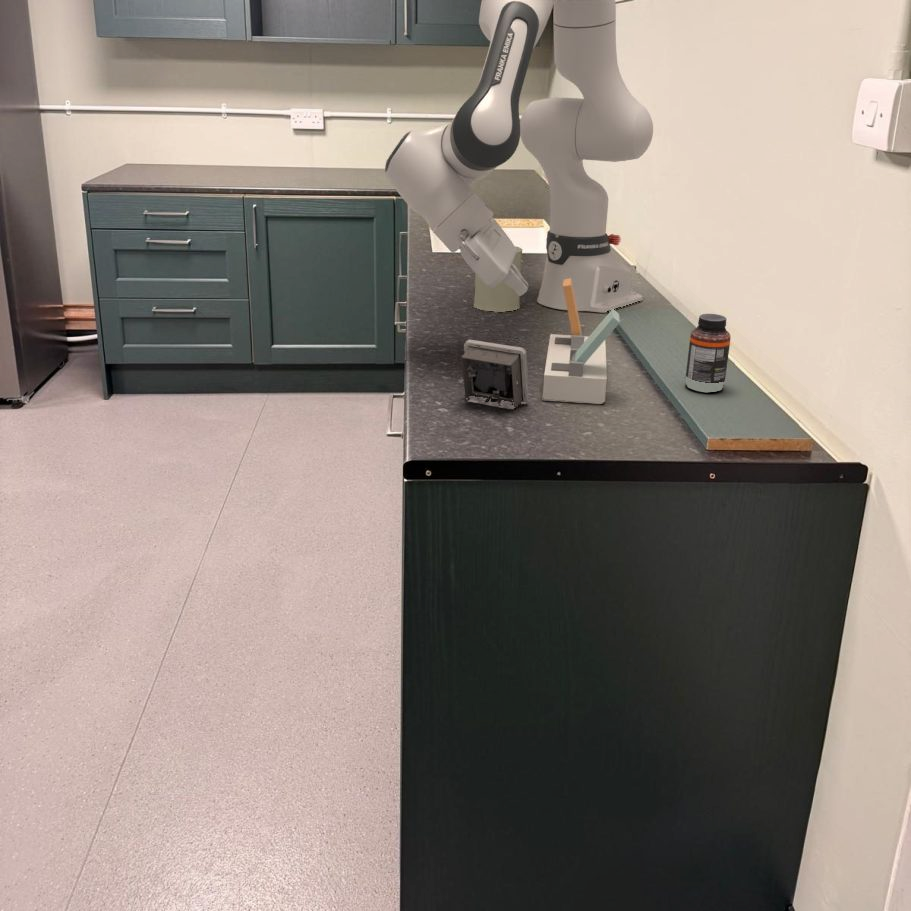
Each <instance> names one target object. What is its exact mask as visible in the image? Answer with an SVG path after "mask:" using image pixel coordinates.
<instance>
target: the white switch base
mask: <svg viewBox="0 0 911 911" xmlns="http://www.w3.org/2000/svg"><path fill="white" fill-rule="evenodd" d="M580 326H581V330H582V336H579V335H572V334H571V335H568V334H567V335H566V334H551V333H550V336H549V341H548V342H549V343H548V347H547V353H546V361H545V367H544V368H545V369H544V373H543V374H544V375H543V384H542V385H543V386H542V399H543V398H544V399H554V400H565V401H583V402H606V391H607V380H608V377H607V376H608V374H607V373H608V372H607V371H608V370H607V352H606V351H607V350H606V347H607V346H606V339H605V340H604V342H603V343H602V344H601V345H600V346H599V347H598V349H597V350H596V351H595V352H594V353H593V354H592V356H591V357H590V358H589V359H588V360H587V361H586V363H585V364H584V365H583V362H575V361H572V355H573V354H574V353H576V351H577V350H578V349H579V348H580V347H581V346H582V344H583V343H584V342H585V341H586V340H587V338H588V337H589V336H586V335H585V327H586V326H585V324H580Z"/></svg>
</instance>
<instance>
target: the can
mask: <svg viewBox="0 0 911 911" xmlns="http://www.w3.org/2000/svg"><path fill="white" fill-rule="evenodd" d="M514 246H515V248H516V250H517V253H516V255H515V258H514V260H513V264H514V265H515V266H516V268H517V269H518V271H519V272H520V274H521V273H522V272H521V271H522V256H523V248H522V247H519V246H516V245H514ZM474 273H475V272H474ZM521 275H522V274H521ZM474 277H475V279H474V280H475V281H474V299H473V300H474V301H473V308H475V309H476V308H477V310H478V309H480V310H479V311H481V310H485V311H484V312H486V311H494V312H493V313H497V312H503V313H506V312H505V311H512V312H514V311H513V310H516V311H518V310H519V309H520V308H521V305H520V297H521V296H519V295H518V294H517V293H516V292H515V291H514V290H513V289H512V288H511V287H509V286H508V285H506V284H505V283H504V282H503V281H501V282H500V283H499V284H498V285H496V286H495V287H494V288H489V287H488V286H487V285H485V284H484V283H483V281H482V280H481V279H480V278H479V277H478V276H477V274H476V273H475V276H474ZM517 309H518V310H517Z"/></svg>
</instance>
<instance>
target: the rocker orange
mask: <svg viewBox="0 0 911 911" xmlns="http://www.w3.org/2000/svg"><path fill="white" fill-rule="evenodd" d="M563 290H564V295H565V300H566V305H567V310H566V311H567V314H568V319H569V324H570V329H571V335H579V336H582V330H581V326H580V325H581V322H580V321H581V320H580V316H579V311H578V310H577V305H576V300H575V295H574V290H573V285H572V280H571V278H569V279H564V282H563Z"/></svg>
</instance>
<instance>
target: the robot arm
mask: <svg viewBox="0 0 911 911" xmlns="http://www.w3.org/2000/svg"><path fill="white" fill-rule="evenodd" d="M616 5H617V4H616V0H481V4H480V10H479V17H478V25H479V27H480V29H481V30H480V31H482V34H484V36H485V37H486V38H485V39H487V40H488V41H489V47H488V51H487V53H486V57H485V62H484V64H483V68H482V71H481V74H480V78H479V81H478V83H477V84H478V85H477V88H476V89H475V90H474V92H473V94H472V95H471V96H470V97H469V98H468V99H466V101H465V102H464V103H463V104H462V105H461V107H460V108H459V110H458V111H457V113H456V115H455V116H454V118H453V119H452V120H451V121H450V122H449V123H445V124H443V125H441V126H438V127H435V128H431V129H426V130H420V131H414V130H410V131H408V132H407V133H405V134H404V135H403V136H402V138H401V139H400V140H399V142H398V143H397V145H396V146H395V147H394V149H393V150H392V151H391V153H390V155H389V156H388V158H387V159H386V161H385V166H384V169H385V175H386V177H387V179H388V181H389V182H390V184H391V186H393V188H394V189H395V190H396V192H397V193H398V194H399V195H400V196H401V198H402V200H403V201H404V202H405V203H406V204H407V205H408V206H409V207H410V208H411V210H412V211H413V212H415V213H417V214H418V215H420V216H421V217H422V218H423V219H424V220H425V221H426V224H427V225H428V227H429V228H430V231H432V233H433V234H434V235H435V236H436V237H437V238H438V239H439V240H440V242H442V243H443V245H444V246H445V248H447V249H448V250H449V251H450V253H452V254H454V253H456V252H457V251H459V250H460V252H459V253H460V255H461V257H462V258H463V260H464V261H465V262H466V264H467V265H468V266H469V267H470V269H471V270H472V271H473V273H476V274H477V276H478V277H479V278H480V279H481V280H482V281H483V283H484V284H485V285H487V286H488V287H489V288H494V287H495V286H496V285H498V284H499V283H500V282H501V281H503V282H504V283H505V284H506V285H508V286H509V287H511V288H512V289H513V290H514V291H515V292H516V293H517V294H518V295H519V296H520V297H522V296H523V295H524V294H525V293H527V292H528V289H529V285H530V284H529V283H528V282H527V281H526V280H525V278H523V275H522V274H520V272H519V271H518V269H517V268H516V266H515V265H514V264H513V260H514V258H515V255H516V253H517V250H516V248H515V246H516V245H515V244H514V242H513V240H511V239H510V237H509V236H508V234H506V232H505V231H504V229H503V228H502V226H500V224H499V223H498V221H497V220H496V219H495V218H494V217H493V216H494V212H493V210H492V209H491V208H490V207H489V206H488V205H487V204H486V203H485V202H484V201H483V200H482V199H481V198H480V197H479V195H477V194H476V192H474V191H475V190H473V189H472V184H474V183H476V182H479V181H480V180H483V179H484V178H486V177H487V176H488V175H489V174H490V173H492V172H493V171H495V169H496V168H497V167H499V166H502V165H503V164H504V163H506V162H507V161H508V160H510V159H511V158H512V157H513V155H514V154H515V153H516V151H517V148H518V147H519V144H520V139H521V143H522V144H523V146H524V148H525V149H526V150H527V151H528V152H529V153H530V154H531V155H532V156H533V157H534V158H535V159H536V160H537V162H538V163H539V165H540V167H541V168H542V171H543V172H544V175H545V177H546V181H547V183H548V189H549V194H550V195H549V196H550V204H549V206H550V207H549V208H550V209H549V210H550V214H549V217H550V218H549V230H548V231H547V233H546V242H545V243H546V245H545V246H546V248H545V249H546V260H545V264H544V270H543V274H542V280H541V286H540V288H539V289H538V290H539V291H538V295H537V296H538V297H537V299H536V302H537V303H538V304H540V305H542V306H544V307H548V308H552V309H557V310H562V311H568V310H567V305H566V300H565V295H564V290H563V282H564V279H569V278H571V280H572V285H573V290H574V295H575V300H576V305H577V310H578V312H592V313H603V314H604V313H608V312H607V311H608V309H609V308H618V307H621V308H623V306H625V307H627V306H626V305H628V306H630V305H629V304H631V305H633V304H632V303H634V302H637V301H640V300H642V301H643V295H641V294H640V293H638V292H636V291H634V290H633V288H632V287H633V280H632V278H633V277H632V272H631V270H630V269H629V268H628V267H627V266H626V265H625V264H624V263H623V262H622V261H620V259H618V257H616V256H615V255H614V254H613V252H612V249H611V245H614V246H619V245H620V243H621V241H622V239H621V235H620V234H614V233H611V234H609V235H608V233H607V222H608V211H609V195H608V193H607V190H606V189H605V188H604V186H603V185H601V184H600V183H599V182H598V181H596V180H594V178H591V177H590V176H589V175H588V174H587V172H586V170H585V168H584V163H583V160H585V161H586V160H587V161H598V162H599V161H600V162H610V163H611V162H612V163H617V162H626V161H631V160H637V159H640V158H641V157H642V156H643V155H644V154H645V153H646V152H647V150H648V149H649V147H650V145H651V142H652V140H653V135H654V124H653V120H652V115H651V114H650V112H649V110H648V109H647V108H646V107H645V106H644V105H643V104H642V103H641V102H639V101H638V100H637V99H636V98H635V96H633V94H632V93H631V91H629V89H628V86H626V84H625V81H624V80H623V78H622V75H621V71H620V68H619V65H618V54H617V35H616V34H617V33H616V32H617V31H616V30H617V29H616V27H617V20H616V19H617V17H616V16H617V15H616V14H617V10H616V8H617V6H616ZM552 10H553V12H552ZM551 13H553V22H552V23H553V59H554V60H553V61H554V62H553V63H554V65H555V67H556V70H557V71H558V72H559V75H560V76H562V77H563V78H564V79H565V80H567V81H569V82H570V83H572V84H573V85H575V86H576V88H577V89H578V90H579V91H580V93H581V94H582V97H583V98H580V97H579V98H577V97H574V98H573V97H558V96H555V97H548V98H541V99H537V100H533V101H531V102H530V103H529V104H527V106H526V107H525V109H524V110H523V112H522V115H521V117H520V109H519V108H520V98H521V93H522V89H523V85H524V83H525V82H524V81H525V79H526V75H527V71H528V68H529V64H530V61H531V56H532V53H533V50H534V48H535V47H536V45H537V44H538V42H539V40H540V39H541V36H542V34H543V32H544V30H545V29H546V26H547V24H548V21H549V19H550V16H551ZM640 302H641V301H640ZM637 303H638V302H637ZM634 304H635V303H634ZM618 309H619V308H618Z"/></svg>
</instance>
